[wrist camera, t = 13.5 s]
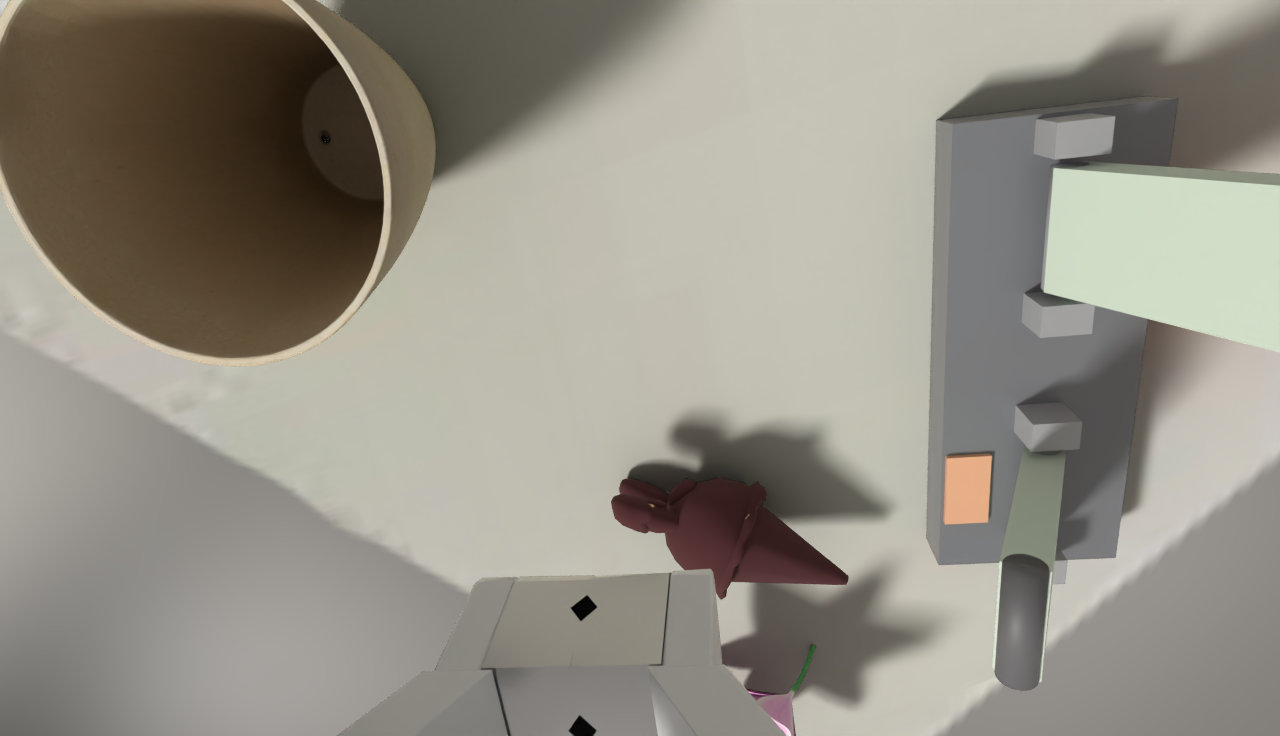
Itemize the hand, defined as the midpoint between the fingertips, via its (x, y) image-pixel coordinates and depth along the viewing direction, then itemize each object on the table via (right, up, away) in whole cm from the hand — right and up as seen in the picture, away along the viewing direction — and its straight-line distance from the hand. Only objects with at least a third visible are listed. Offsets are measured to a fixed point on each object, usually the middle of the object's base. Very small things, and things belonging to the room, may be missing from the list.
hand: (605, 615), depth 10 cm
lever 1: (+23, -4, +32) cm, 39 cm away
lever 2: (+21, +10, +26) cm, 35 cm away
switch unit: (+22, +4, +33) cm, 40 cm away
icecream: (+6, -6, +39) cm, 40 cm away
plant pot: (-14, +16, +32) cm, 38 cm away
